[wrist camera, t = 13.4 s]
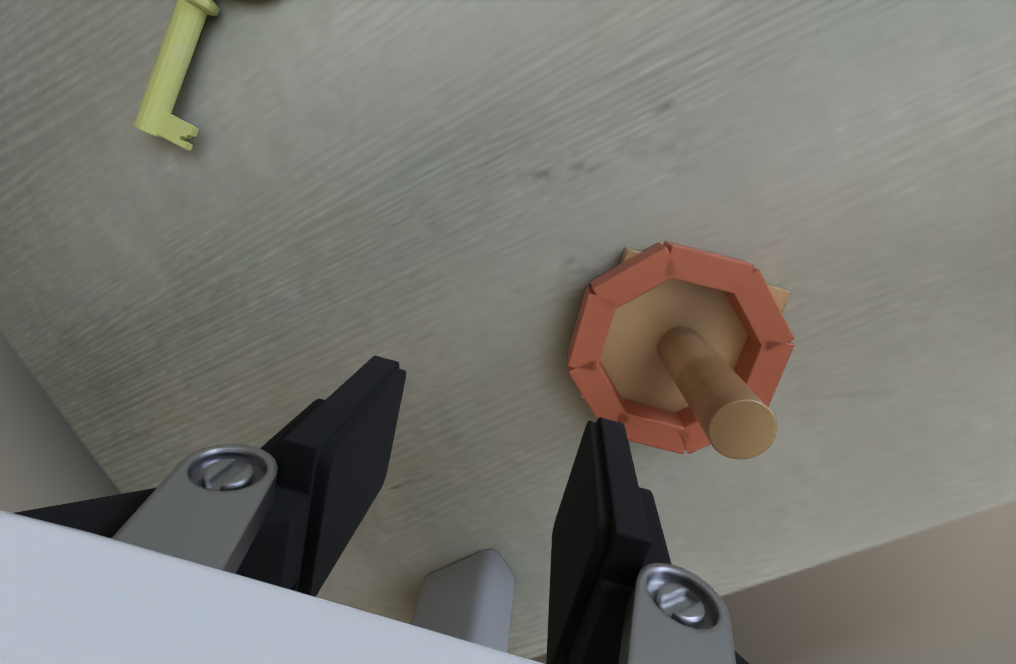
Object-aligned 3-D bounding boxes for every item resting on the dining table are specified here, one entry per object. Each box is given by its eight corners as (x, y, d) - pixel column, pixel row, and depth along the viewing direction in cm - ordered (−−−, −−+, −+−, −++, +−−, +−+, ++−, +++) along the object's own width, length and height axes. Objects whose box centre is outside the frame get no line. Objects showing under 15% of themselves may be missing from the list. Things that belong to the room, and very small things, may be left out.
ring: (802, 274, 24) (821, 282, 23) (730, 451, 27) (742, 470, 25) (603, 225, 25) (606, 229, 23) (551, 406, 27) (551, 421, 26)
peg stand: (782, 287, 26) (917, 350, 16) (724, 429, 28) (811, 558, 18) (624, 246, 26) (664, 284, 16) (579, 391, 28) (591, 499, 18)
